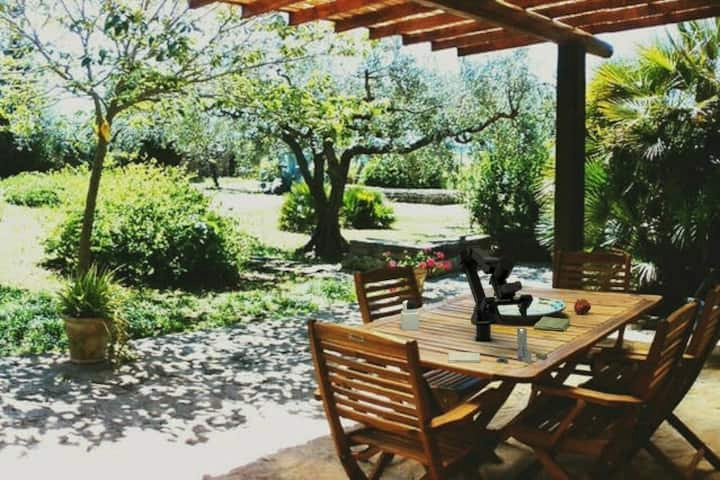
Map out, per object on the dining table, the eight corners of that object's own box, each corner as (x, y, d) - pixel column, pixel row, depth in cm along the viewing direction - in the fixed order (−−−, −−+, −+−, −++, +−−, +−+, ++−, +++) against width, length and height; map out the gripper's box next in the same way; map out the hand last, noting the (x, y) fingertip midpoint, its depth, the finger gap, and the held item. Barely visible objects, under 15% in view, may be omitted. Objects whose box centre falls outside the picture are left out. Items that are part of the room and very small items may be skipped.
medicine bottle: (417, 326, 312) (417, 299, 311) (419, 330, 305) (419, 301, 304) (401, 327, 312) (400, 299, 311) (402, 330, 305) (402, 302, 304)
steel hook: (515, 359, 254) (515, 328, 253) (524, 358, 255) (524, 327, 254) (524, 363, 247) (524, 332, 246) (533, 363, 248) (533, 331, 247)
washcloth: (532, 330, 301) (532, 323, 301) (541, 322, 317) (541, 315, 316) (564, 333, 295) (564, 325, 295) (572, 325, 311) (572, 317, 311)
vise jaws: (494, 360, 253) (494, 356, 253) (542, 356, 257) (542, 352, 257) (500, 363, 248) (500, 360, 248) (549, 359, 253) (549, 356, 252)
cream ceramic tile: (448, 354, 262) (448, 352, 262) (479, 354, 261) (479, 352, 261) (448, 362, 252) (448, 359, 252) (480, 362, 250) (480, 360, 250)
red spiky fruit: (593, 319, 330) (585, 303, 337) (595, 309, 325) (587, 293, 332) (577, 322, 330) (570, 305, 337) (579, 311, 325) (572, 295, 332)
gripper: (483, 275, 259) (496, 310, 250) (531, 272, 264) (545, 307, 254) (474, 293, 268) (487, 328, 258) (521, 290, 272) (535, 325, 262)
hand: (514, 322), depth 258 cm, fingers open, 9 cm apart
